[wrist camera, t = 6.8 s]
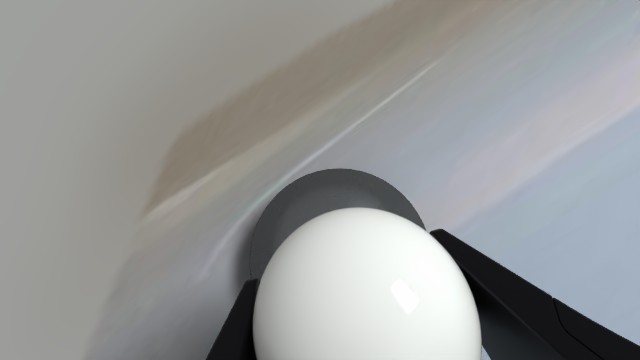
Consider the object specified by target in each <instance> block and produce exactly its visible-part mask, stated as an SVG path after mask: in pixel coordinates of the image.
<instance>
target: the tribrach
mask: <svg viewBox="0 0 640 360" xmlns="http://www.w3.org/2000/svg"><path fill="white" fill-rule="evenodd" d="M351 207H365V208H374V209H379V210H384V211H387V212H391V213H394V214H396V215H399V216H401V217H403V218H405V219H408V220H409V221H411V222H413V223H415V224H416V225H418V226H419V227H421V228H422V229H424V230H425V231H426V229H425V227H424V224H423V222H422V220H421V218H420V217H419V215H418V213H417V211H416V210H415V209H414V207H413V206H412V204H411V203H410V202H409V201H408V200H407V199H406V198H405V196H404V195H403V194H402V193H400V192H399V191H398V190H397V189H396V188H395V187H393V186H392V185H390V184H389V183H387V182H386V181H384V180H382V179H380V178H378V177H376V176H374V175H371V174H368V173H365V172H362V171H357V170H352V169H327V170H322V171H317V172H314V173H311V174H308V175H305V176H303V177H301V178H299V179H297V180H295V181H294V182H292V183H291V184H289V185H288V186H286V187H285V188H284V189H283V190H282V191H280V192H279V193H278V194H277V195H276V196H275V197H274V198H273V200H272V201H271V202H270V203H269V205H268V206H267V207H266V209H265V210H264V212H263V214H262V216H261V217H260V219H259V221H258V224H257V226H256V229H255V232H254V235H253V239H252V243H251V250H250V272H251V279H253V278H258V279H259V280H260V281H261V278H262V275H263V273H264V271H265V269H266V266H267V264H268V263H269V261H270V259H271V257H272V256H273V254H274V253H275V251H276V250H277V249H278V247H279V246H280V245H281V244H282V242H283V241H284V240H285V239H286V238H287V237H288V236H289V235H290V234H291V233H292V232H293V231H295V230H296V229H297V228H298V227H300V226H301V225H302V224H304V223H305V222H307V221H309V220H311V219H312V218H314V217H316V216H319V215H321V214H323V213H326V212H329V211H333V210H337V209H342V208H351Z"/></svg>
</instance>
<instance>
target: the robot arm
mask: <svg viewBox="0 0 640 360" xmlns="http://www.w3.org/2000/svg"><path fill="white" fill-rule="evenodd" d="M430 235H431V236H433V237H434V238H435V239H436V240H437V241H438V242H439V243H440V244H441V245H442V246H443V247H444V248H445V249H446V251H447V252H448V253H449V254H450V255H451V257H452V258H453V259H454V261H455V262H456V264H457V265H458V267H459V268H460V270H461V271H462V273H463V275H464V277H465V279H466V281H467V283H468V285H469V287H470V289H471V292H472V295H473V297H474V300H475V303H476V307H477V311H478V315H479V320H480V326H481V336H482V346H483V347H484V349H485V350H486V352H487V354H488V355H489V357H490V359H491V360H640V346H639V345H637V344H635V343H633V342H631V341H629V340H627V339H625V338H624V337H622V336H620V335H618V334H616V333H614V332H613V331H611V330H609V329H607V328H605V327H603V326H602V325H600V324H598V323H596V322H594V321H592V320H591V319H589V318H587V317H586V316H584V315H582V314H581V313H579V312H577V311H576V310H574V309H572V308H570V307H569V306H567V305H566V304H564V303H562V302H561V301H559V300H557V299H556V298H552V296H551V295H549V294H547V293H546V292H544V291H543V290H541V289H539V288H538V287H536V286H534V285H533V284H531V283H530V282H528V281H526V280H525V279H523V278H521V277H520V276H518V275H517V274H515V273H513V272H512V271H510V270H508V269H507V268H505V267H503V266H502V265H500V264H499V263H497V262H495V261H494V260H492V259H490V258H489V257H487V256H486V255H484V254H482V253H481V252H479V251H477V250H476V249H474V248H473V247H471V246H469V245H468V244H466V243H464V242H463V241H461V240H460V239H458V238H456V237H455V236H453V235H451V234H450V233H448V232H446V231H445V230H443V229H437V230H433V231H431V232H430ZM259 284H260V280H259V279H258V278H253V279H250V280H247V281H246V282H245V284H244V286H243V288H242V290H241V292H240V294H239V296H238V298H237V300H236V301H235V303H234V305H233V307H232V309H231V311H230V313H229V315H228V317H227V319H226V321H225V323H224V325H223V327H222V329H221V331H220V333H219V335H218V337H217V339H216V341H215V343H214V345H213V347H212V349H211V350H210V352H209V354H208V356H207V358H206V360H257V359H256V354H255V348H254V341H253V312H254V305H255V299H256V294H257V290H258V287H259Z"/></svg>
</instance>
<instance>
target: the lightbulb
mask: <svg viewBox="0 0 640 360" xmlns="http://www.w3.org/2000/svg"><path fill="white" fill-rule="evenodd" d="M253 341H254V348H255V354H256V359H257V360H481V356H482V336H481V326H480V320H479V315H478V311H477V307H476V303H475V300H474V297H473V295H472V292H471V289H470V287H469V285H468V283H467V281H466V279H465V277H464V275H463V273H462V271H461V270H460V268H459V267H458V265H457V264H456V262H455V261H454V259H453V258H452V257H451V255H450V254H449V253H448V252H447V251H446V249H445V248H444V247H443V246H442V245H441V244H440V243H439V242H438V241H437V240H436V239H435V238H434V237H433V236H431V235H430V234H429V233H428V232H426V231H425V230H424V229H422V228H421V227H419V226H418V225H416V224H415V223H413V222H411V221H409V220H408V219H405V218H403V217H401V216H399V215H396V214H394V213H391V212H387V211H384V210H379V209H374V208H365V207H351V208H342V209H337V210H333V211H329V212H326V213H323V214H321V215H319V216H316V217H314V218H312V219H311V220H309V221H307V222H305V223H304V224H302V225H301V226H300V227H298V228H297V229H296V230H295V231H293V232H292V233H291V234H290V235H289V236H288V237H287V238H286V239H285V240H284V241H283V242H282V244H281V245H280V246H279V247H278V249H277V250H276V251H275V253H274V254H273V256H272V257H271V259H270V261H269V263H268V264H267V266H266V269H265V271H264V273H263V275H262V278H261V281H260V284H259V287H258V290H257V294H256V299H255V305H254V312H253Z"/></svg>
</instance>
